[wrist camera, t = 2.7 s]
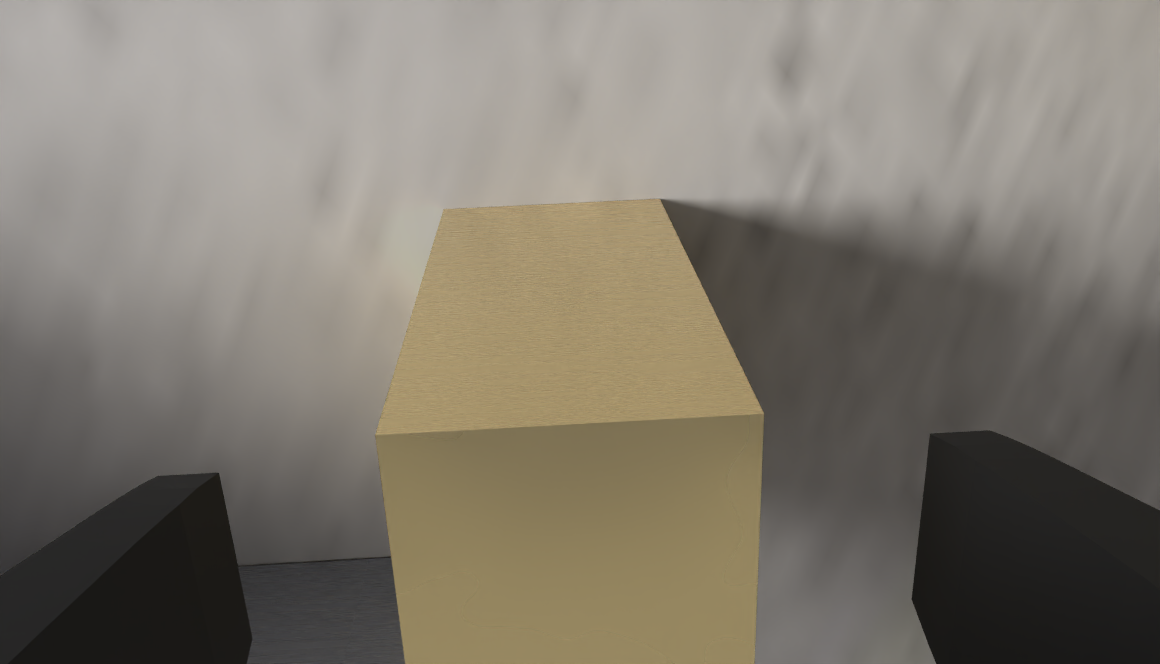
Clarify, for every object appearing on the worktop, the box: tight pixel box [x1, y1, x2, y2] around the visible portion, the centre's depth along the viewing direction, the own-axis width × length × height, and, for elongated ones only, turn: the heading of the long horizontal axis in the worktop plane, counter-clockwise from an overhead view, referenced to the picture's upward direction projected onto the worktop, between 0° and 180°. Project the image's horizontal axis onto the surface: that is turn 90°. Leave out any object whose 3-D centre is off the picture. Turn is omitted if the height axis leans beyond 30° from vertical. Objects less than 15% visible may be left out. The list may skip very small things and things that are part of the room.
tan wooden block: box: [375, 199, 764, 664], centre depth 12 cm, size 3×4×7 cm
